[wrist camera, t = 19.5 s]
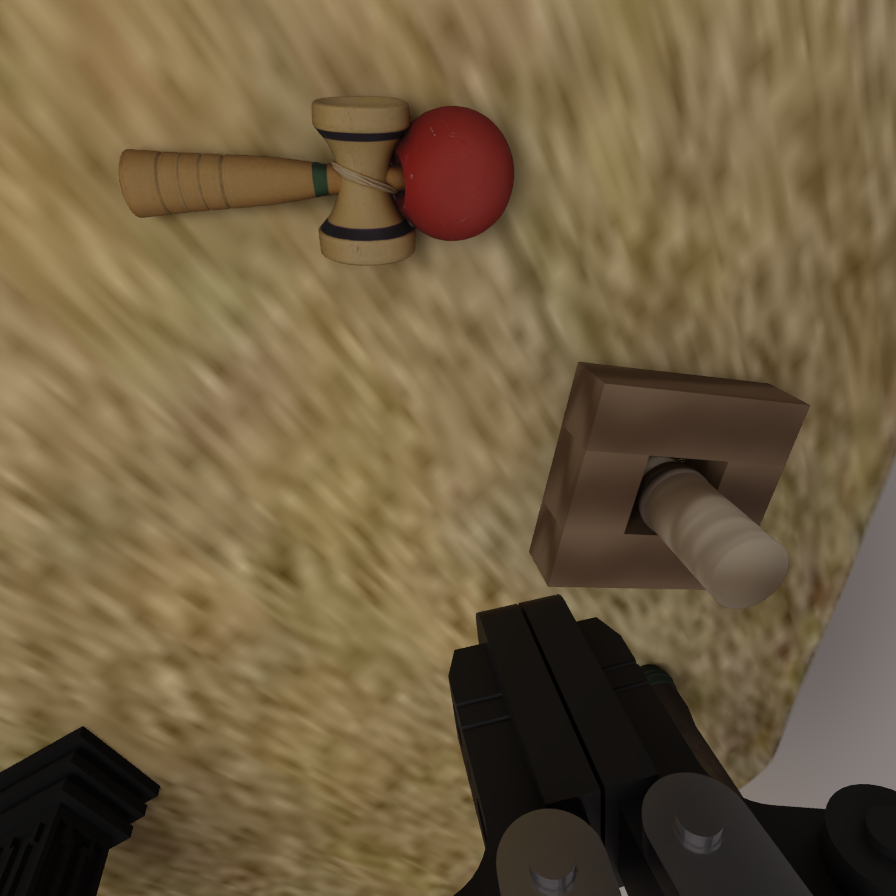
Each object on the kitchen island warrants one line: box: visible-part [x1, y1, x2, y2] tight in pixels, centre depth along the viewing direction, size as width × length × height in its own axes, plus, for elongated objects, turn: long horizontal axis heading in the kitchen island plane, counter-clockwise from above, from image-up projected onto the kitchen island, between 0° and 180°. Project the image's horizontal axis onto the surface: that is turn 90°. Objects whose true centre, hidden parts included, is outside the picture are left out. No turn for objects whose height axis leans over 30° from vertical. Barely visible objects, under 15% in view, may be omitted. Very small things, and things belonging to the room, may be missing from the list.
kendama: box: [119, 96, 514, 265], centre depth 31 cm, size 8×6×18 cm
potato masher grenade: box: [641, 665, 743, 798], centre depth 40 cm, size 8×9×30 cm
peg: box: [634, 456, 789, 609], centre depth 39 cm, size 5×5×12 cm
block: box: [529, 362, 810, 590], centre depth 42 cm, size 14×14×4 cm
